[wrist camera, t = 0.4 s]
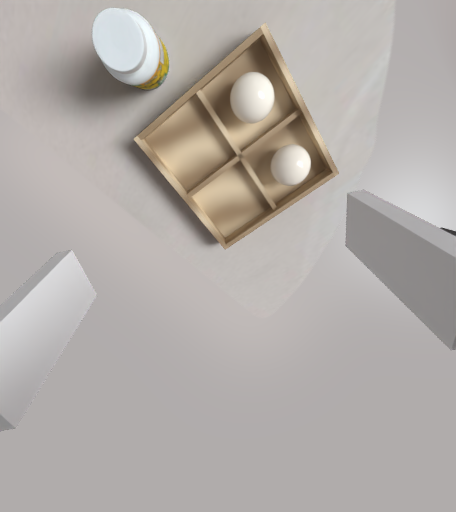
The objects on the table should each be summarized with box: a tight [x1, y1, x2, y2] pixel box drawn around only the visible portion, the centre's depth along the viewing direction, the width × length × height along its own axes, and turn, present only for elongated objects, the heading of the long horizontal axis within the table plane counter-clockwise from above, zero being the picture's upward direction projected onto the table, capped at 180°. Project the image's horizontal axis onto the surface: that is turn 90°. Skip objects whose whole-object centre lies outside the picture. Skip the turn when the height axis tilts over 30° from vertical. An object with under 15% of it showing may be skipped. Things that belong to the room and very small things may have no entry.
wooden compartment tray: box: [134, 23, 339, 249], centre depth 33 cm, size 18×18×3 cm
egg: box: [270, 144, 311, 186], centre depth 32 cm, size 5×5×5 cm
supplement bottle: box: [92, 8, 170, 90], centre depth 25 cm, size 5×5×10 cm
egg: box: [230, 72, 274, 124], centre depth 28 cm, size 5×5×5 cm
